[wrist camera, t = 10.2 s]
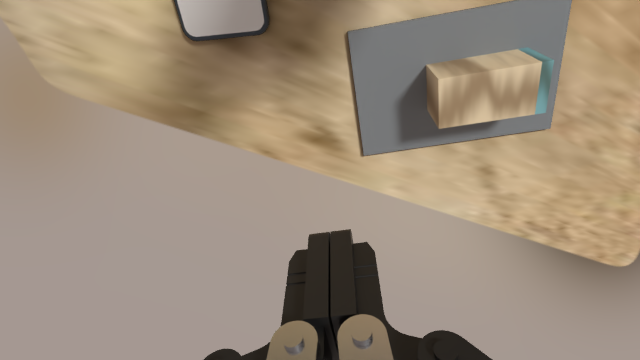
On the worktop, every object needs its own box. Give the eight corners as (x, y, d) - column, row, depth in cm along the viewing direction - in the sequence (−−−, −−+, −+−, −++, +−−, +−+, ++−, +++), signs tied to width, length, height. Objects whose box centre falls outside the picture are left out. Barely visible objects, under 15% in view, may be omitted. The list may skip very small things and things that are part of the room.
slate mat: (347, 31, 36) (347, 32, 36) (570, -10, 34) (573, -10, 34) (363, 153, 44) (363, 155, 43) (548, 126, 41) (550, 128, 41)
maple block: (438, 79, 33) (554, 60, 32) (426, 64, 38) (528, 47, 36) (438, 129, 36) (545, 112, 35) (427, 110, 40) (522, 95, 39)
